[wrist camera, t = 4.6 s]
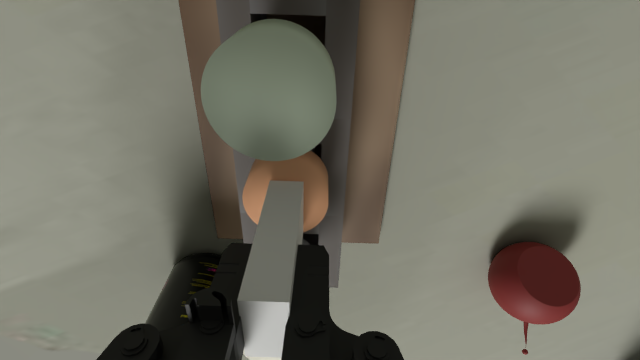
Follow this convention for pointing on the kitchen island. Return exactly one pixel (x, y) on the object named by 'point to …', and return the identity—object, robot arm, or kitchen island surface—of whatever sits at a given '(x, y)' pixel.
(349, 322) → the kitchen island surface
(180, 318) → the supplement container
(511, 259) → the fruit
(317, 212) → the orange capped peg
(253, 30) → the sage button
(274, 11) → the button board
